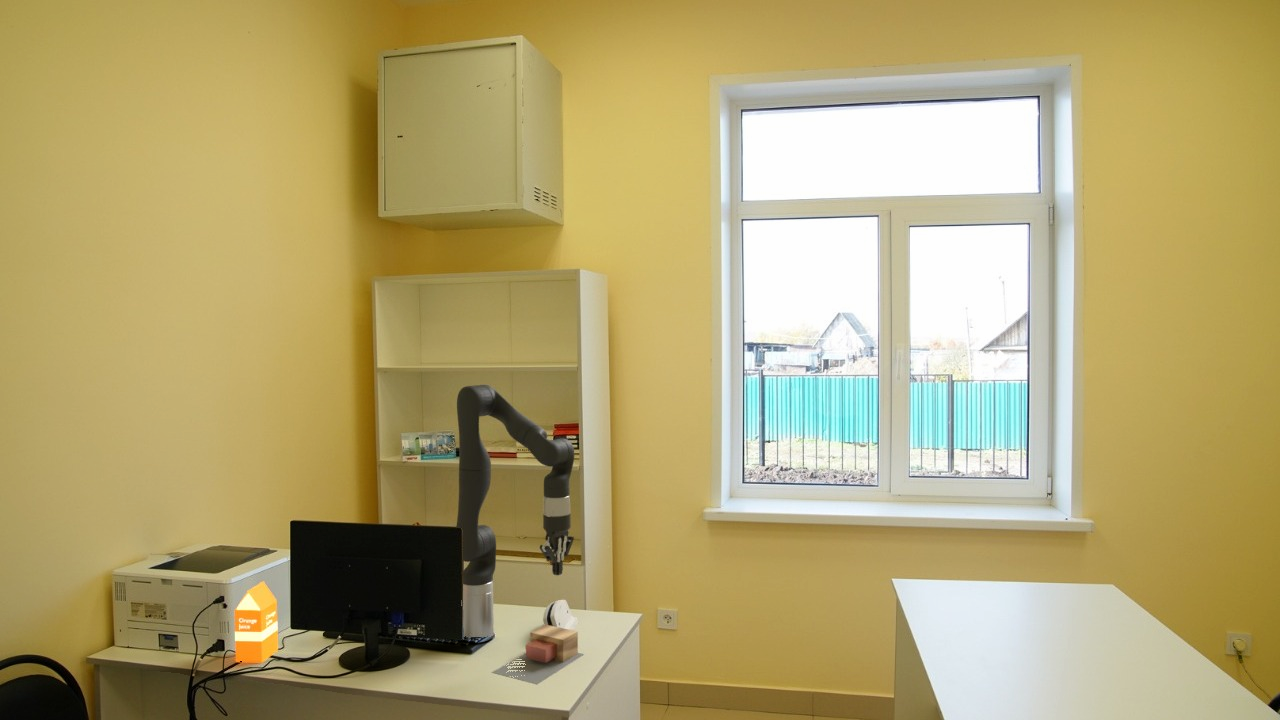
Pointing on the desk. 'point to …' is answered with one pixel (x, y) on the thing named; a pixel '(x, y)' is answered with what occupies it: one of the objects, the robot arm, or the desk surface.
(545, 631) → the wooden block
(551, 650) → the pin
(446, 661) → the desk surface
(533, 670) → the mat
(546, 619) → the white rounded piece
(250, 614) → the orange juice
